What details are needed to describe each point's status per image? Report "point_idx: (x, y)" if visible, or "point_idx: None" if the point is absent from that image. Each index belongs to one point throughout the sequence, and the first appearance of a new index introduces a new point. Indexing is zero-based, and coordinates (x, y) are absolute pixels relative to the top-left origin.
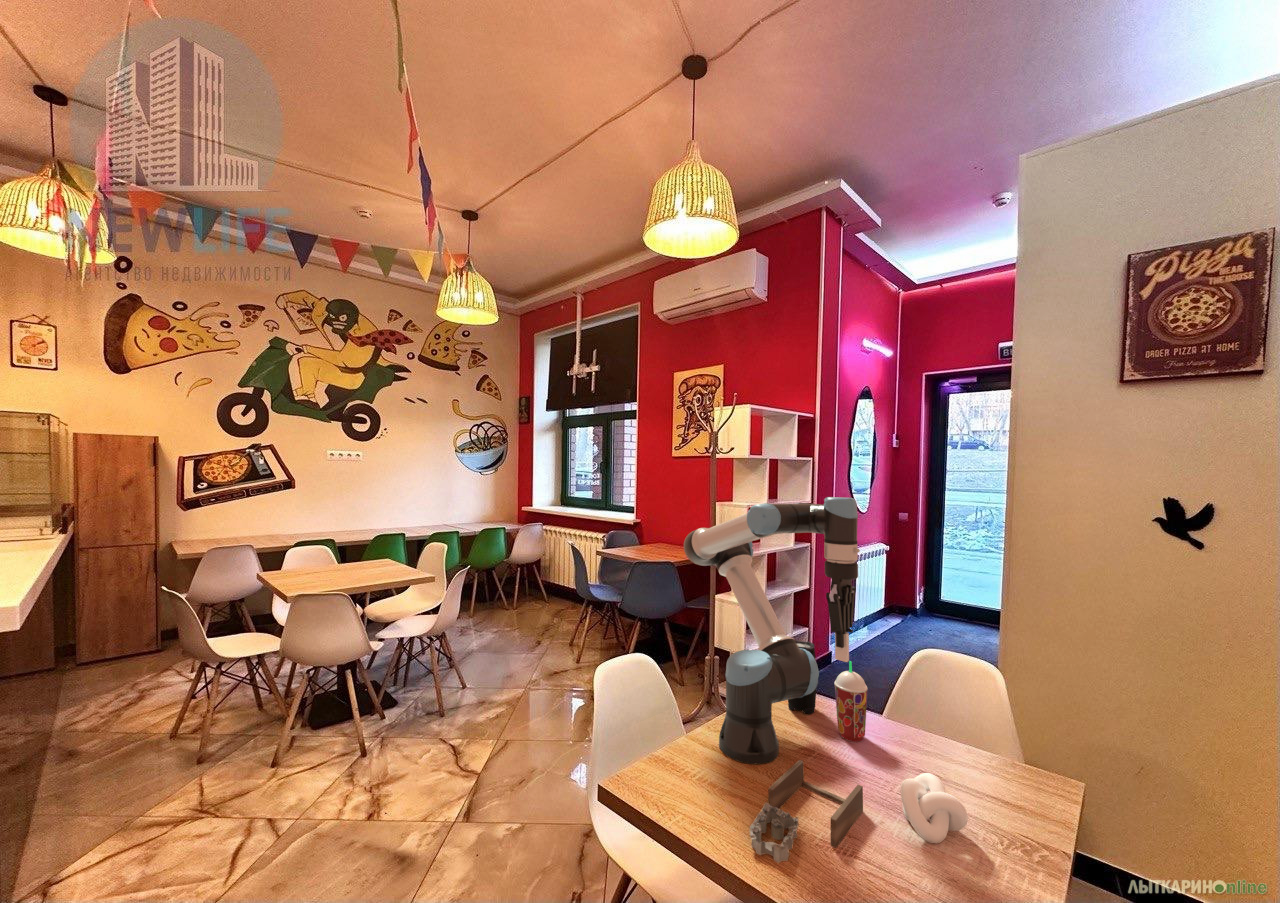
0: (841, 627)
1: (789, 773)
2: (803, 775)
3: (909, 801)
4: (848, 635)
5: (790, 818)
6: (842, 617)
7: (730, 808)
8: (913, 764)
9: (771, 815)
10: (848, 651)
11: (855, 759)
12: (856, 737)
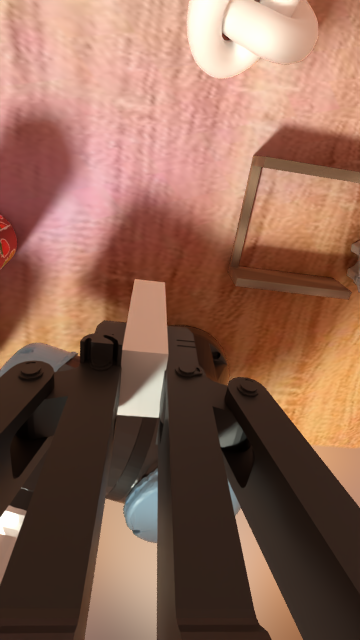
0: (265, 408)
1: (290, 286)
2: (233, 270)
3: (314, 38)
4: (129, 341)
5: (358, 251)
6: (224, 474)
7: (342, 329)
8: (3, 81)
9: (351, 277)
10: (138, 297)
11: (81, 206)
12: (7, 221)
